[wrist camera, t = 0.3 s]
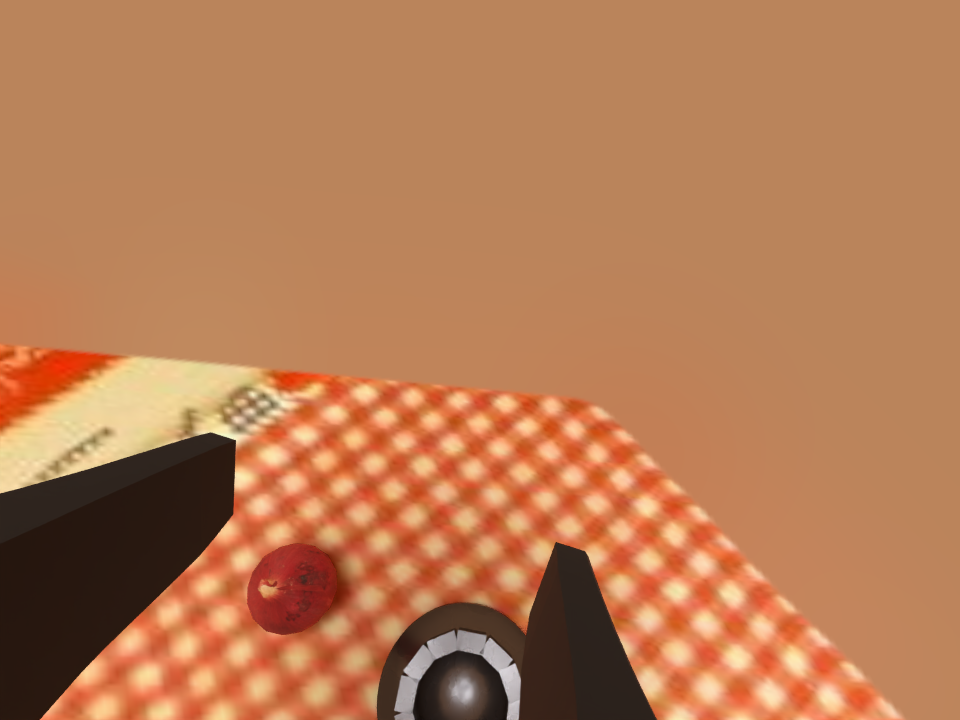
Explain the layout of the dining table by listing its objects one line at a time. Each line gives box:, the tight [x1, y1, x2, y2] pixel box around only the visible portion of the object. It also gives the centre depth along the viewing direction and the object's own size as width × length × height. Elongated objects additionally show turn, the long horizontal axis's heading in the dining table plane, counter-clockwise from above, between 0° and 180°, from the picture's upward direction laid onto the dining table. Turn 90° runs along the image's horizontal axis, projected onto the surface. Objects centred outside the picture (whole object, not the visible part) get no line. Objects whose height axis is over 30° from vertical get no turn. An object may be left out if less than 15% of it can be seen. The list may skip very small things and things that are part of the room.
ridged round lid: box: [377, 603, 526, 720], centre depth 32 cm, size 12×12×3 cm
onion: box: [247, 543, 337, 635], centre depth 33 cm, size 6×6×8 cm
